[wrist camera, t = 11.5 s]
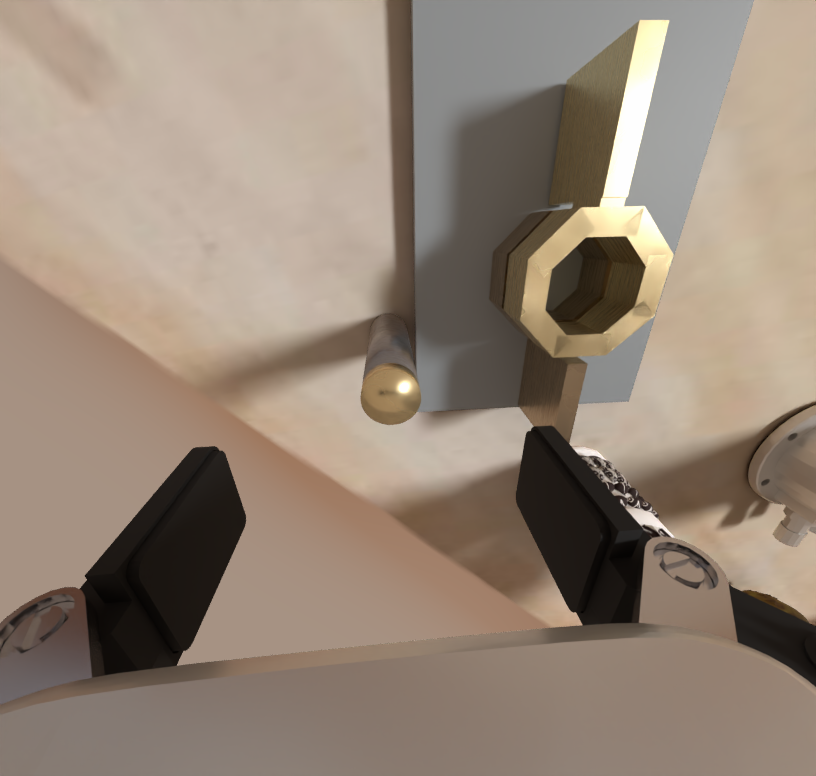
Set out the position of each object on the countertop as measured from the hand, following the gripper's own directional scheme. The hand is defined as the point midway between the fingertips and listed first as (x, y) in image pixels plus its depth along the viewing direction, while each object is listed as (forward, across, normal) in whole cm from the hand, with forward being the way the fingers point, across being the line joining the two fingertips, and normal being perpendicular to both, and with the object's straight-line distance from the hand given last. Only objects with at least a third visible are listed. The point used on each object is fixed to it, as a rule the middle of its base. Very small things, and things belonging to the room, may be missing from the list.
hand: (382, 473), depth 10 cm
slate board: (+16, -12, -7) cm, 21 cm away
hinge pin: (+16, -1, 0) cm, 16 cm away
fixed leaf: (+15, -12, -1) cm, 19 cm away
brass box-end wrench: (+15, -12, -7) cm, 20 cm away
